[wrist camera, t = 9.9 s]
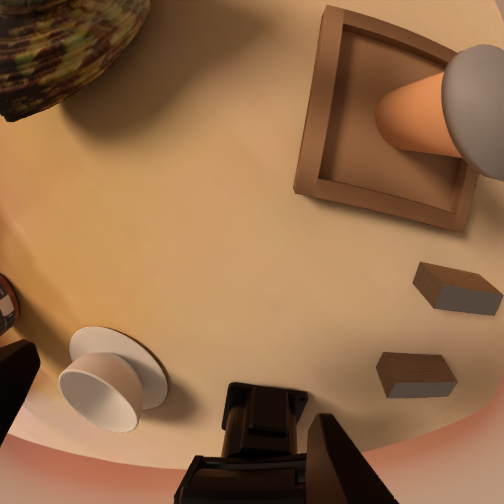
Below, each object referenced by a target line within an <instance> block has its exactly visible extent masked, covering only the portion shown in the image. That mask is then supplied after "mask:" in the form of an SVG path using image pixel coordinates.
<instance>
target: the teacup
mask: <svg viewBox="0 0 504 504" xmlns="http://www.w3.org/2000/svg"><path fill="white" fill-rule="evenodd" d="M69 352H70V357H71V360H72V363H71V364H70V365H69V366H68V367H67V368H66V369H65V370H64V371H63V372H62V373H61V374H60V376H59V388H60V391H61V393H62V395H63V397H64V398H65V400H66V401H67V403H68V404H69V405H70V406H71V407H72V408H73V409H74V410H75V411H76V412H77V413H78V414H79V415H80V416H82V417H83V418H84V419H86V420H87V421H89V422H90V423H92V424H94V425H96V426H98V427H100V428H102V429H105V430H108V431H111V432H116V433H127V432H131V431H133V430H134V429H135V428H136V427H137V426H138V423H139V419H140V415H141V412H142V410H148V409H153V408H155V407H157V406H159V405H160V404H162V403H163V402H164V400H165V399H166V396H167V393H168V384H167V380H166V377H165V374H164V372H163V371H162V369H161V367H160V366H159V364H158V363H157V362H156V360H155V359H154V358H153V357H152V356H151V355H150V354H149V353H148V352H147V351H146V350H145V349H144V348H143V347H142V346H140V345H139V344H138V343H136V342H135V341H133V340H132V339H130V338H129V337H127V336H125V335H123V334H121V333H119V332H117V331H114V330H111V329H108V328H104V327H96V326H92V327H85V328H82V329H80V330H78V331H77V332H76V333H75V334H74V335H73V336H72V338H71V341H70V345H69Z"/></svg>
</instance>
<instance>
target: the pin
mask: <svg viewBox="0 0 504 504" xmlns="http://www.w3.org/2000/svg"><path fill="white" fill-rule="evenodd" d="M375 121H376V125H377V128H378V131H379V133H380V135H381V136H382V137H383V139H384V140H385V141H386V142H387V143H388V144H390V145H391V146H393V147H394V148H397V149H400V150H406V151H415V152H424V153H432V154H439V155H446V156H453V157H459V158H463V159H464V160H465V161H466V163H467V164H468V165H469V166H470V167H471V168H473V169H474V170H475V171H477V172H478V173H480V174H482V175H484V176H486V177H489V178H493V179H497V180H500V181H504V51H503V50H502V49H500V48H498V47H495V46H492V45H485V44H483V45H477V46H474V47H471V48H469V49H466V50H463V51H461V52H459V53H457V54H456V55H455V56H454V57H453V58H452V59H451V60H450V61H449V63H448V64H447V67H446V69H445V71H444V72H442V73H439V74H437V75H434V76H431V77H428V78H425V79H422V80H419V81H417V82H414V83H411V84H409V85H406V86H403V87H401V88H398V89H395V90H393V91H390V92H388V93H386V94H385V95H384V96H383V97H382V98H381V99H380V100H379V102H378V104H377V106H376V110H375Z"/></svg>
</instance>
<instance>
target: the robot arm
mask: <svg viewBox="0 0 504 504" xmlns="http://www.w3.org/2000/svg"><path fill="white" fill-rule="evenodd" d="M40 364H41V362H40V358H39V355H38V351H37V348H36V345H35V344H34V342H32V341H30V340H27V339H22V340H19V341H17V342H14V343H12V344H9V345H6V346H4V347H1V348H0V447H1V445H2V443H3V441H4V438H5V437H6V434H7V433H8V431H9V429H10V427H11V425H12V423H13V421H14V419H15V417H16V416H17V414H18V412H19V410H20V408H21V406H22V405H23V403H24V401H25V399H26V396H27V394H28V392H29V390H30V387H31V385H32V383H33V381H34V379H35V376H36V374H37V372H38V370H39V368H40ZM234 388H236V389H234ZM301 397H303V398H301ZM307 401H308V394H307V393H306V392H301V391H292V390H283V389H275V388H268V387H261V386H254V385H247V384H241V383H235V382H233V383H230V384H229V386H228V391H227V397H226V403H225V409H224V415H223V421H222V429H223V430H226V431H225V437H224V443H223V449H222V455H221V457H203V456H200V455H195V457H194V459H193V461H192V463H191V464H190V466H189V468H188V470H187V472H186V474H185V476H184V478H183V480H182V482H181V484H180V486H179V487H178V489H177V491H176V494H175V495H174V504H399V503H398V501H397V500H396V499H394V496H393V495H392V494H391V493H390V491H389V490H388V489H387V487H386V486H385V485H384V483H383V482H382V481H381V479H380V478H379V477H378V475H377V474H376V473H375V471H374V470H373V469H372V467H371V466H370V465H369V464H368V462H367V461H366V459H365V458H364V457H363V455H362V454H361V453H360V451H359V450H358V449H357V447H356V446H355V445H354V443H353V442H352V440H351V439H350V438H349V436H348V435H347V434H346V432H345V431H344V430H343V428H342V427H341V425H340V424H339V423H338V421H337V420H336V418H335V417H334V416H333V415H332V414H331V413H318V414H317V415H316V416H315V418H314V420H313V422H312V424H311V426H310V428H309V431H308V442H307V453H302V454H297V432H296V425H297V423H298V421H299V419H300V417H301V414H302V412H303V410H304V408H305V405H306V403H307Z"/></svg>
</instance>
